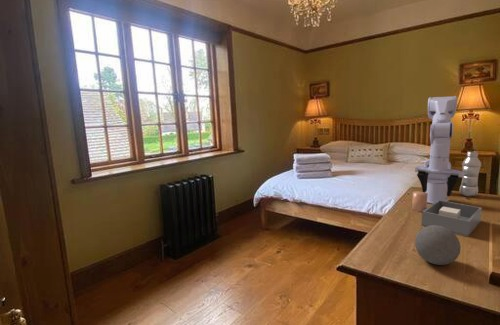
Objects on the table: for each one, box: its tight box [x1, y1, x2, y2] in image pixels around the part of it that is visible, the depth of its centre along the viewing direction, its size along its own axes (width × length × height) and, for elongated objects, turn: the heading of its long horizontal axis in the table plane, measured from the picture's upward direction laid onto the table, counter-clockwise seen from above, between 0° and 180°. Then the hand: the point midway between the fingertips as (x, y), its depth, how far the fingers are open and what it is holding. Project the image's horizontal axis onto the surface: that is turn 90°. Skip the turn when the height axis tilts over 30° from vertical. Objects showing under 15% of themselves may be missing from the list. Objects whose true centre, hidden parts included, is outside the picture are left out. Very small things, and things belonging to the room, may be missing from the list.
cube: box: [439, 206, 460, 219], centre depth 97 cm, size 5×5×5 cm
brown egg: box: [411, 190, 428, 213], centre depth 113 cm, size 5×5×7 cm
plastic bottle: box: [459, 150, 482, 197], centre depth 126 cm, size 6×7×20 cm
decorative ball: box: [414, 225, 462, 266], centre depth 75 cm, size 10×10×10 cm
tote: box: [420, 200, 483, 238], centre depth 99 cm, size 17×13×5 cm
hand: (436, 193), depth 103 cm, fingers open, 7 cm apart
